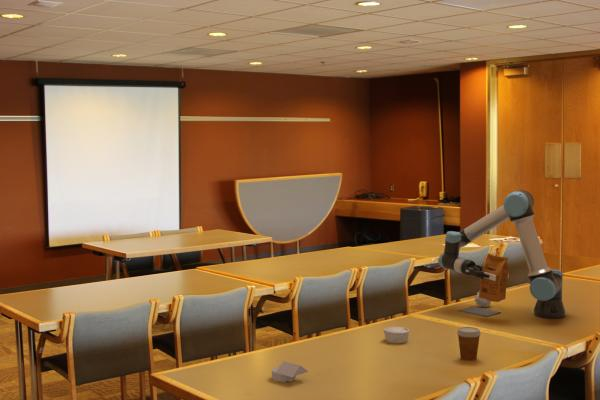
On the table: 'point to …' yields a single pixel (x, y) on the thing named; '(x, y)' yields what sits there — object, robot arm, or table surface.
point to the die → (482, 301)
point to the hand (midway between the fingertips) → (501, 277)
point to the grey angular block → (287, 372)
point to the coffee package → (496, 288)
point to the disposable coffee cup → (468, 342)
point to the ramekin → (396, 334)
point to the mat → (479, 311)
